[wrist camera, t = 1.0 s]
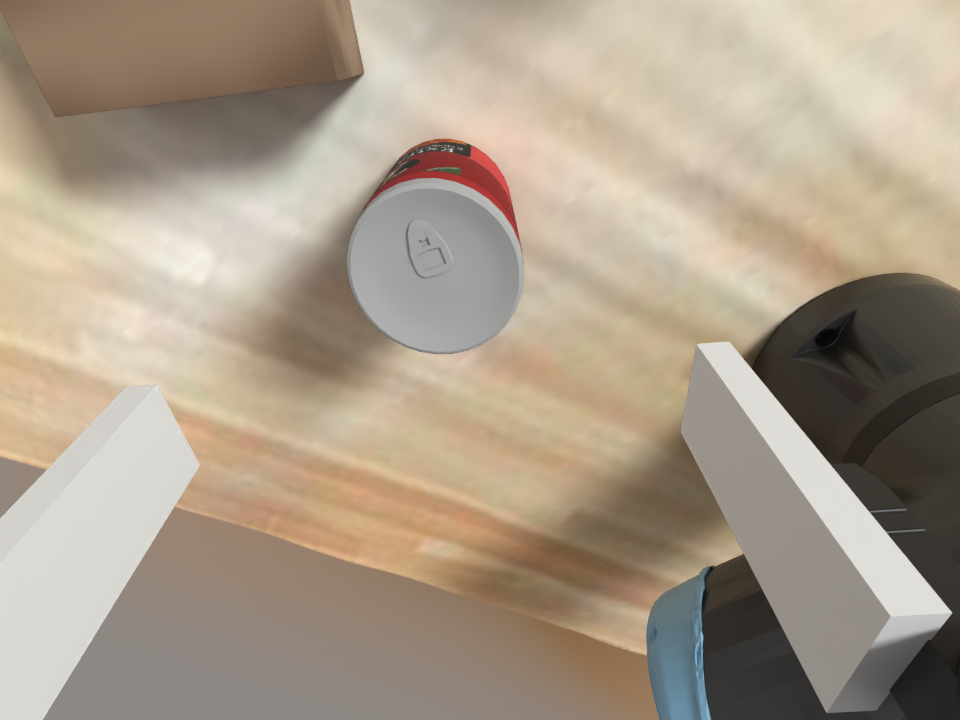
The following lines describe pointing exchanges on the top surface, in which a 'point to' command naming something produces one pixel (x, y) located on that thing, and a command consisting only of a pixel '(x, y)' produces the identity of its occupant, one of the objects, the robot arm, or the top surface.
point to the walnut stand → (179, 48)
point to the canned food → (438, 250)
